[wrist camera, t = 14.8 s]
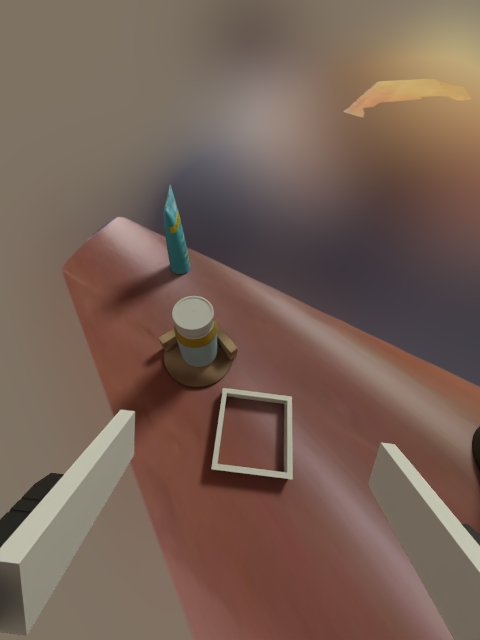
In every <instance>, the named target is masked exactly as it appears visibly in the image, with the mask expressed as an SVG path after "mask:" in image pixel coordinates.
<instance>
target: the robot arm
mask: <svg viewBox="0 0 480 640" xmlns="http://www.w3.org/2000/svg"><path fill="white" fill-rule="evenodd" d="M134 432H135V411H128V410H120V411H119V412H118V413H117V414H116V416H115V417H114V418H113V419H112V420H111V421H110V423H109V424H108V425H107V426H106V427H105V428H104V429H103V431H102V432H101V433H100V434H99V435H98V436H97V437H96V439H95V440H94V441H93V442H92V443H91V444H90V446H89V447H88V448H87V449H86V450H85V451H84V452H83V453H82V455H81V456H80V457H79V458H78V459H77V460H76V462H75V463H74V464H73V465H72V466H71V467H70V468H69V470H68V471H67V472H66V473H65V474H56V473H50V474H49V475H47V476H46V477H45V478H43V479H41V480H40V481H38V482H37V483H35V484H34V485H33V487H31V489H30V490H29V491H28V492H27V493H26V494H25V495H24V496H23V497H22V499H21V500H19V501H18V502H17V503H16V504H15V505H14V506H13V507H12V508H11V509H10V511H9V512H8V513H6V514H5V515H4V516H3V517H2V518H1V520H0V632H2V633H9V634H18V635H26V636H27V635H28V633H29V631H30V630H31V628H32V626H33V625H34V623H35V621H36V619H37V618H38V616H39V614H40V613H41V611H42V609H43V608H44V606H45V604H46V603H47V601H48V599H49V597H50V596H51V594H52V592H53V591H54V589H55V587H56V586H57V584H58V582H59V581H60V579H61V577H62V576H63V574H64V572H65V570H66V569H67V567H68V565H69V564H70V562H71V560H72V559H73V557H74V555H75V554H76V552H77V550H78V549H79V547H80V545H81V543H82V542H83V540H84V538H85V537H86V535H87V533H88V532H89V530H90V528H91V526H92V524H93V523H94V521H95V520H96V518H97V516H98V515H99V513H100V511H101V510H102V508H103V506H104V505H105V503H106V501H107V499H108V498H109V496H110V495H111V493H112V491H113V489H114V488H115V486H116V484H117V483H118V481H119V479H120V478H121V476H122V474H123V473H124V471H125V469H126V468H127V466H128V464H129V462H130V461H131V459H132V457H133V456H134ZM473 450H474V455H475V459H476V462H477V464H478V467H479V469H480V427H479V428H478V429H477V430H476V432H475V435H474V439H473ZM368 486H369V487H370V489H371V491H372V493H373V495H374V496H375V498H376V500H377V502H378V504H379V505H380V507H381V509H382V511H383V513H384V514H385V516H386V518H387V520H388V522H389V523H390V525H391V527H392V529H393V531H394V532H395V534H396V536H397V538H398V540H399V541H400V543H401V545H402V547H403V548H404V550H405V552H406V554H407V556H408V557H409V559H410V561H411V563H412V565H413V566H414V568H415V570H416V572H417V574H418V575H419V577H420V579H421V581H422V583H423V584H424V586H425V588H426V590H427V592H428V593H429V595H430V597H431V599H432V601H433V602H434V604H435V606H436V608H437V609H438V611H439V613H440V615H441V617H442V618H443V620H444V622H445V624H446V626H447V627H448V629H449V631H450V633H451V635H452V636H453V638H454V640H480V534H478V533H477V532H476V531H475V530H474V529H472V528H471V527H470V526H469V525H468V524H461V523H460V522H459V521H458V519H457V518H456V517H455V516H454V515H453V513H452V512H451V511H450V510H449V509H448V507H447V506H446V505H445V504H444V503H443V501H442V500H441V499H440V498H439V497H438V495H437V494H436V493H435V492H434V491H433V489H432V488H431V487H430V486H429V485H428V483H427V482H426V481H425V480H424V479H423V477H422V476H421V475H420V474H419V473H418V471H417V470H416V469H415V468H414V467H413V465H412V464H411V463H410V462H409V461H408V459H407V458H406V457H405V456H404V455H403V453H402V452H401V451H400V450H399V449H398V447H397V446H396V445H395V444H388V443H380V447H379V450H378V453H377V457H376V460H375V463H374V467H373V470H372V473H371V477H370V480H369V483H368Z"/></svg>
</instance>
